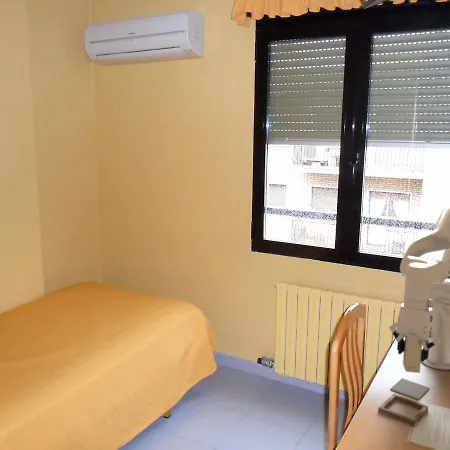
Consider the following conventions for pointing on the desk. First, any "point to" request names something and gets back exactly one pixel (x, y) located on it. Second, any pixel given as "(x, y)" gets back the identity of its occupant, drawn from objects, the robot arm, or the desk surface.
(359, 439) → the desk surface
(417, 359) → the skincare box
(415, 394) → the rubber mat
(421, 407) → the square wooden frame
